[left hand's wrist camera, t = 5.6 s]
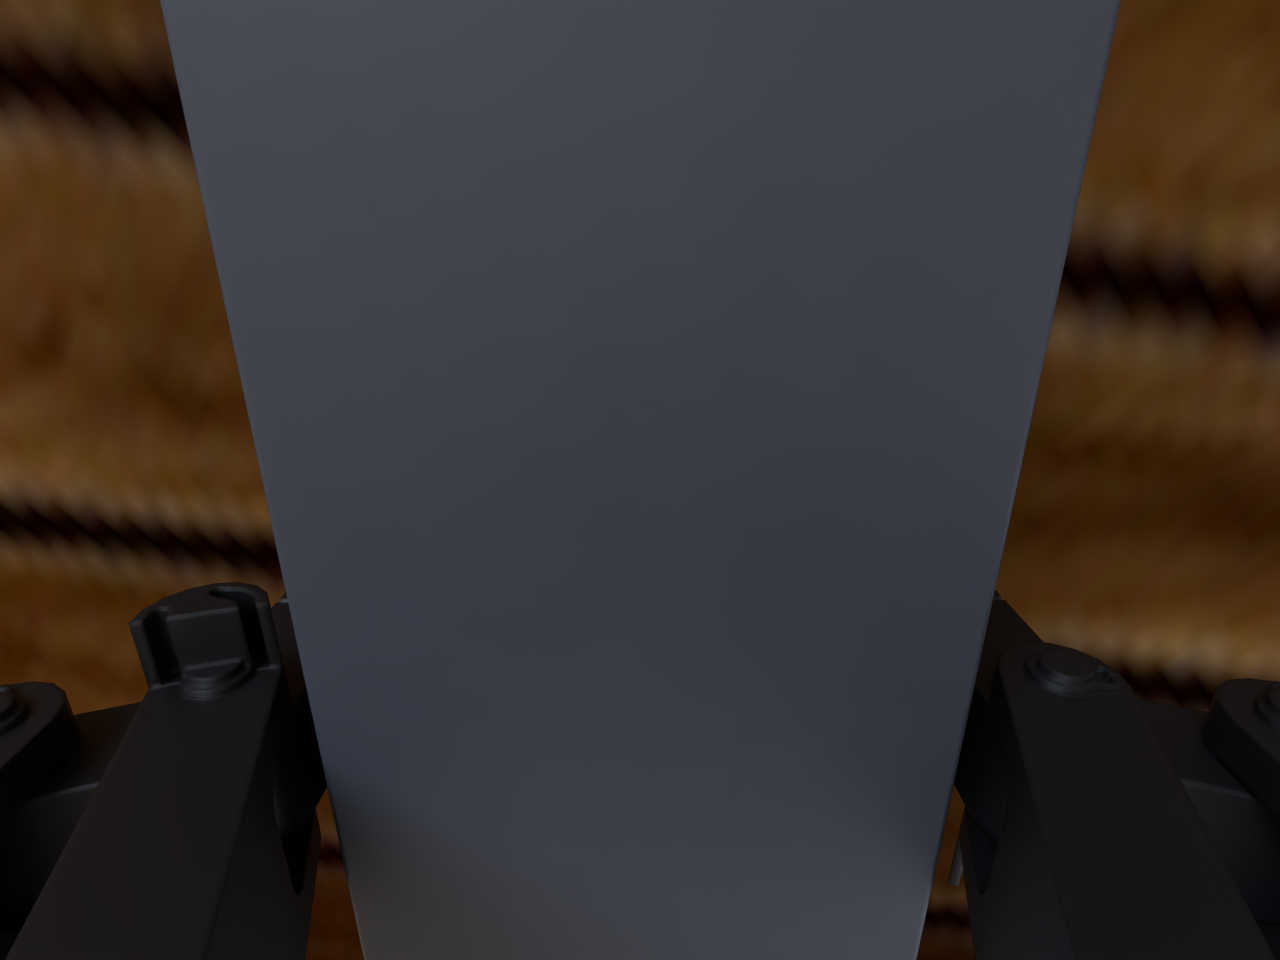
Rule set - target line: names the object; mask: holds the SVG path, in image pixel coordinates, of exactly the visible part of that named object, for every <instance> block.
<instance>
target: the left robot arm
mask: <svg viewBox="0 0 1280 960" xmlns="http://www.w3.org/2000/svg"><path fill="white" fill-rule="evenodd" d="M129 626H130V629H131V632H132V636H133V639H134V642H135V645H136V648H137V652H138V655H139V658H140V661H141V664H142V668H143V671H144V674H145V677H146V680H147V684H148V687H149V689H148V691H147V693H146V695H145V697H144V699H143V701H142V702H138V703H134V704H129V705H124V706H118V707H113V708H108V709H103V710H98V711H93V712H88V713H82V714H77V715H73V712H72V709H71V707H70V704H69V701H68V699H67V696H66V693H65V691H64V690H63V689H61V688H60V687H58V686H57V685H55V684H54V683H44V682H33V681H32V682H25V683H18V684H11V685H1V686H0V960H305V956H306V949H307V941H308V934H309V926H310V918H311V911H312V903H313V896H314V888H315V881H316V873H317V865H318V858H319V850H320V843H321V834H320V827H319V821H318V817H317V812H316V806H317V804H318V802H319V801H320V799H321V797H322V795H323V793H324V791H325V790H326V788H327V782H326V777H325V773H324V768H323V763H322V759H321V754H320V749H319V744H318V740H317V735H316V730H315V726H314V721H313V716H312V712H311V707H310V702H309V697H308V693H307V688H306V683H305V679H304V674H303V669H302V665H301V660H300V655H299V651H298V646H297V641H296V636H295V632H294V627H293V622H292V618H291V613H290V608H289V604H288V599H287V594H286V593H285V594H284V595H283V596H282V597H281V598H280V603H276V604H275V605H274V606H273V607H272V608H271V607H270V603H269V598H268V594H267V592H266V591H264V590H263V589H261V588H260V587H258V586H257V585H251V584H246V583H240V582H234V583H215V584H210V585H206V586H201V587H196V588H191V589H188V590H185V591H182V592H179V593H177V594H174V595H171V596H168V597H166V598H163V599H161V600H160V601H158V602H156V603H154V604H152V605H151V606H149V607H147V608H145V609H144V610H142V611H141V612H140V613H139V614H138V615H137V616H136V617H135V618H134V619H133V620H132V621H131V622H130V623H129ZM954 785H955V787H956V789H957V791H958V792H959V794H960V796H961V798H962V800H963V802H964V803H965V808H964V812H963V817H962V821H961V826H960V830H959V835H958V839H957V844H956V848H955V853H954V857H953V862H952V866H951V871H950V878H949V884H951V885H955V886H959V882H960V878H961V874H962V871H964V879H965V886H966V894H967V901H968V909H969V916H970V924H971V932H972V939H973V947H974V954H975V960H1280V682H1277V681H1273V682H1272V681H1265V680H1258V679H1251V678H1247V679H1236V680H1228V681H1226V682H1225V683H1223V684H1222V685H1220V686H1219V687H1217V689H1216V692H1215V695H1214V698H1213V700H1212V703H1211V706H1210V708H1209V711H1208V712H1205V711H1199V710H1194V709H1189V708H1184V707H1179V706H1173V705H1168V704H1163V703H1158V702H1153V701H1147V700H1143V699H1139V698H1137V697H1136V696H1135V694H1134V692H1133V690H1132V688H1131V687H1130V686H1129V684H1128V683H1127V682H1126V681H1125V680H1124V679H1123V677H1122V676H1121V675H1120V674H1119V673H1118V672H1117V671H1115V670H1114V669H1112V668H1111V667H1109V666H1108V665H1106V664H1105V663H1103V662H1102V661H1100V660H1099V659H1096V658H1094V657H1092V656H1089V655H1087V654H1085V653H1082V652H1080V651H1078V650H1075V649H1072V648H1068V647H1064V646H1059V645H1055V644H1051V643H1044V642H1043V641H1042V640H1041V639H1040V638H1039V637H1038V636H1037V635H1036V634H1035V632H1034V631H1033V630H1032V629H1031V628H1030V627H1029V626H1028V625H1027V624H1026V623H1025V622H1024V621H1023V619H1022V618H1021V617H1020V616H1019V615H1018V614H1017V613H1016V612H1015V611H1014V610H1013V609H1012V608H1011V607H1010V605H1009V604H1008V603H1007V602H1006V601H1005V600H1001V596H1000V595H999V594H998V593H997V591H996V590H995V592H994V597H993V601H992V606H991V611H990V615H989V620H988V625H987V629H986V634H985V639H984V644H983V648H982V653H981V658H980V662H979V667H978V672H977V676H976V681H975V686H974V690H973V695H972V700H971V705H970V709H969V714H968V719H967V723H966V728H965V733H964V737H963V742H962V747H961V752H960V756H959V761H958V766H957V770H956V775H955V780H954Z"/></svg>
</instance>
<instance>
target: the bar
mask: <svg viewBox="0 0 1280 960" xmlns="http://www.w3.org/2000/svg"><path fill="white" fill-rule="evenodd" d="M160 2H161V7H162V12H163V17H164V21H165V26H166V31H167V35H168V40H169V45H170V49H171V54H172V59H173V64H174V68H175V73H176V78H177V82H178V87H179V92H180V96H181V101H182V106H183V110H184V115H185V120H186V125H187V129H188V134H189V139H190V143H191V148H192V153H193V157H194V162H195V167H196V172H197V176H198V181H199V186H200V190H201V195H202V200H203V204H204V209H205V214H206V219H207V223H208V228H209V233H210V237H211V242H212V247H213V251H214V256H215V261H216V265H217V270H218V275H219V280H220V284H221V289H222V294H223V298H224V303H225V308H226V312H227V317H228V322H229V327H230V331H231V336H232V341H233V345H234V350H235V355H236V359H237V364H238V369H239V373H240V378H241V383H242V388H243V392H244V397H245V402H246V406H247V411H248V416H249V420H250V425H251V430H252V435H253V439H254V444H255V449H256V453H257V458H258V463H259V467H260V472H261V477H262V481H263V486H264V491H265V496H266V500H267V505H268V510H269V514H270V519H271V524H272V528H273V533H274V538H275V543H276V547H277V552H278V557H279V561H280V566H281V571H282V575H283V580H284V585H285V589H286V594H287V599H288V604H289V608H290V613H291V618H292V622H293V627H294V632H295V636H296V641H297V646H298V651H299V655H300V660H301V665H302V669H303V674H304V679H305V683H306V688H307V693H308V697H309V702H310V707H311V712H312V716H313V721H314V726H315V730H316V735H317V740H318V744H319V749H320V754H321V759H322V763H323V768H324V773H325V777H326V782H327V787H328V791H329V796H330V801H331V806H332V810H333V815H334V820H335V824H336V829H337V834H338V838H339V843H340V848H341V852H342V857H343V862H344V867H345V871H346V876H347V881H348V885H349V890H350V895H351V899H352V904H353V909H354V914H355V918H356V923H357V928H358V932H359V937H360V942H361V946H362V951H363V956H364V960H916V958H917V953H918V949H919V944H920V939H921V935H922V930H923V925H924V921H925V916H926V911H927V906H928V902H929V897H930V892H931V888H932V883H933V878H934V874H935V869H936V864H937V860H938V855H939V850H940V845H941V841H942V836H943V831H944V827H945V822H946V817H947V813H948V808H949V803H950V798H951V794H952V789H953V784H954V780H955V775H956V770H957V766H958V761H959V756H960V752H961V747H962V742H963V737H964V733H965V728H966V723H967V719H968V714H969V709H970V705H971V700H972V695H973V690H974V686H975V681H976V676H977V672H978V667H979V662H980V658H981V653H982V648H983V644H984V639H985V634H986V629H987V625H988V620H989V615H990V611H991V606H992V601H993V597H994V592H995V587H996V582H997V578H998V573H999V568H1000V564H1001V559H1002V554H1003V550H1004V545H1005V540H1006V536H1007V531H1008V526H1009V521H1010V517H1011V512H1012V507H1013V503H1014V498H1015V493H1016V489H1017V484H1018V479H1019V474H1020V470H1021V465H1022V460H1023V456H1024V451H1025V446H1026V442H1027V437H1028V432H1029V428H1030V423H1031V418H1032V413H1033V409H1034V404H1035V399H1036V395H1037V390H1038V385H1039V381H1040V376H1041V371H1042V366H1043V362H1044V357H1045V352H1046V348H1047V343H1048V338H1049V334H1050V329H1051V324H1052V320H1053V315H1054V310H1055V305H1056V301H1057V296H1058V291H1059V287H1060V282H1061V277H1062V273H1063V268H1064V263H1065V258H1066V254H1067V249H1068V244H1069V240H1070V235H1071V230H1072V226H1073V221H1074V216H1075V212H1076V207H1077V202H1078V197H1079V193H1080V188H1081V183H1082V179H1083V174H1084V169H1085V165H1086V160H1087V155H1088V150H1089V146H1090V141H1091V136H1092V132H1093V127H1094V122H1095V118H1096V113H1097V108H1098V104H1099V99H1100V94H1101V89H1102V85H1103V80H1104V75H1105V71H1106V66H1107V61H1108V57H1109V52H1110V47H1111V42H1112V38H1113V33H1114V28H1115V24H1116V19H1117V14H1118V10H1119V5H1120V0H160Z"/></svg>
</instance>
